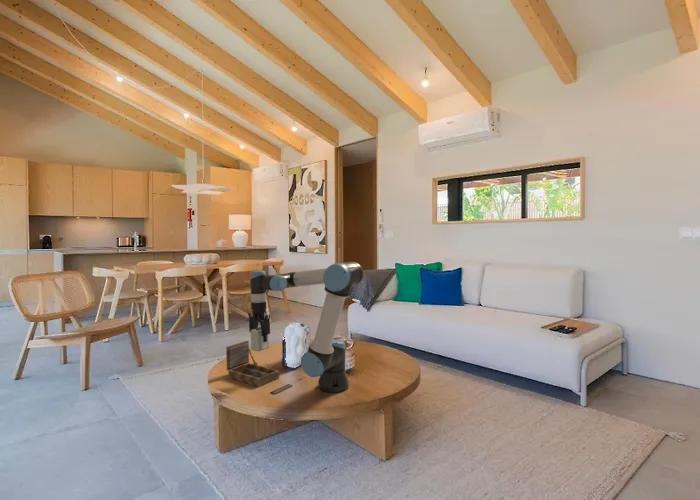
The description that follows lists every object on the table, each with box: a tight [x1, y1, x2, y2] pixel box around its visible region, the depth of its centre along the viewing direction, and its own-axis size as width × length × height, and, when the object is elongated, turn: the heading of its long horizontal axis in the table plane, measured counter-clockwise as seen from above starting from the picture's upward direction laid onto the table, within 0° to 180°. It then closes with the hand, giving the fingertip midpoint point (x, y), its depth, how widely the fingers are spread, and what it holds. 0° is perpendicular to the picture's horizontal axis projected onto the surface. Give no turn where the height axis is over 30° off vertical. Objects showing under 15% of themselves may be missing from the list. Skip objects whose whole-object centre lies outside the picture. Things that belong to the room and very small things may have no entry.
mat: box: [269, 383, 293, 395], centre depth 203 cm, size 10×12×1 cm
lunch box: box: [281, 323, 311, 369], centre depth 239 cm, size 28×10×22 cm, turn 168°
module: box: [250, 326, 270, 352], centre depth 209 cm, size 5×7×11 cm
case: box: [225, 340, 280, 388], centre depth 214 cm, size 23×14×17 cm, turn 56°
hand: (260, 347), depth 210 cm, fingers closed on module, 5 cm apart
